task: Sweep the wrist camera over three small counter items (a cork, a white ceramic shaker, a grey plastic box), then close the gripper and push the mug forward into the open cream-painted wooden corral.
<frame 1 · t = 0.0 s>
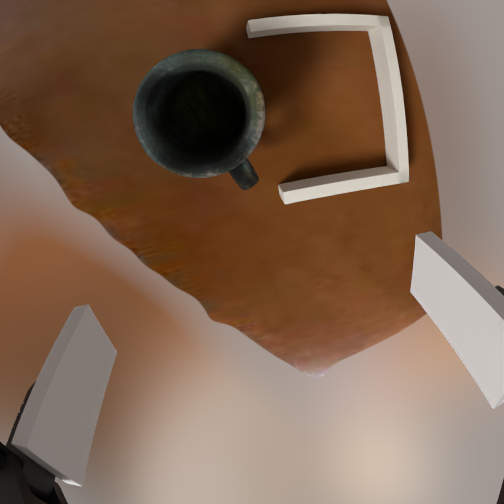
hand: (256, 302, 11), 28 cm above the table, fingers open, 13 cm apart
mug: (214, 121, 33), on the table
corral: (331, 101, 33), on the table
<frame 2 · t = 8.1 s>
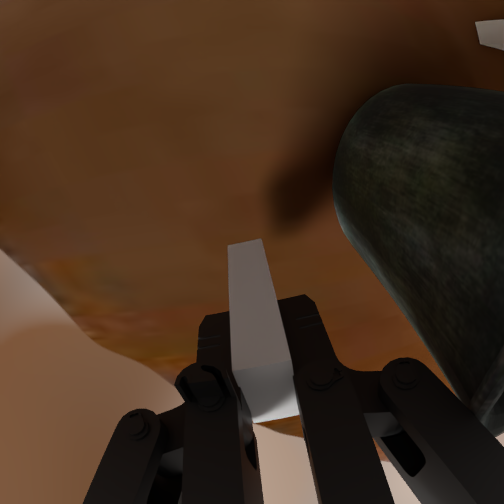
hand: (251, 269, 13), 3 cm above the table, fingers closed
mug: (419, 201, 15), on the table, touching hand
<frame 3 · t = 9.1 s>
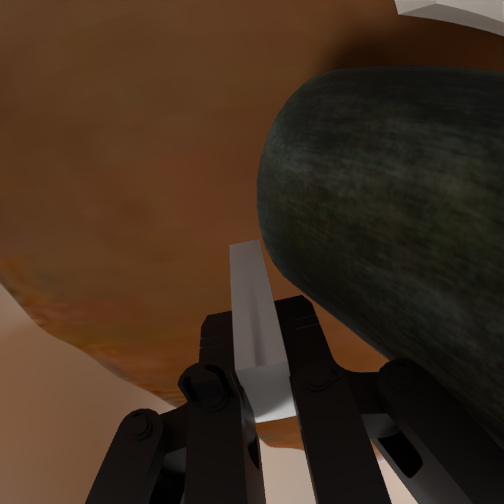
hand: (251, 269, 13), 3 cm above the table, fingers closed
mug: (358, 208, 14), point 2 cm above the table, touching gripper, hand
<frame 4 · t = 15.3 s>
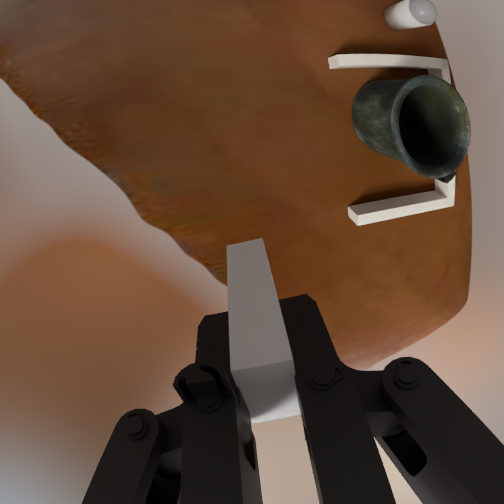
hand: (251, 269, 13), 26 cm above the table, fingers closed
shaker: (396, 18, 27), on the table
mug: (389, 125, 35), on the table
corral: (396, 133, 36), on the table
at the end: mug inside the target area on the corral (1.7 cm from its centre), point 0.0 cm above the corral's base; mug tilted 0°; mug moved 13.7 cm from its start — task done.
